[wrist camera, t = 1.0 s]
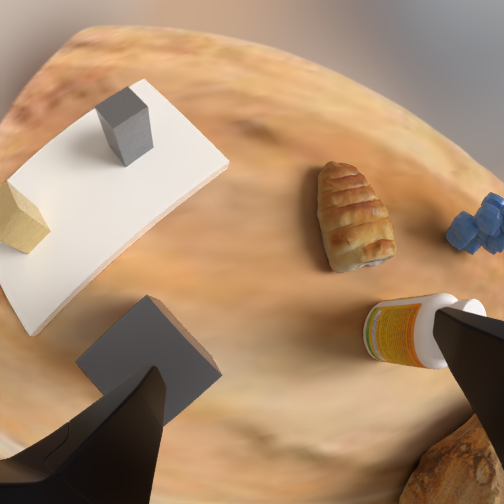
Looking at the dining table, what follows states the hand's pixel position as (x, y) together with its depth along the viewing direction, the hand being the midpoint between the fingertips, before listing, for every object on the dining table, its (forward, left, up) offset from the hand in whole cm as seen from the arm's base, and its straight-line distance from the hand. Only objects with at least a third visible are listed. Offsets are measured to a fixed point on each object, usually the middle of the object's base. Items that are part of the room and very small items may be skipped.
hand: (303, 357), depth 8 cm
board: (-2, +16, -12) cm, 20 cm away
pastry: (+13, 0, -13) cm, 18 cm away
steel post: (+3, +16, -11) cm, 19 cm away
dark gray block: (-5, +3, -12) cm, 14 cm away
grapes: (+25, -11, -13) cm, 30 cm away
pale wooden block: (-7, +16, -11) cm, 20 cm away
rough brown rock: (+8, -32, -13) cm, 36 cm away
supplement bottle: (+9, -9, -13) cm, 18 cm away
